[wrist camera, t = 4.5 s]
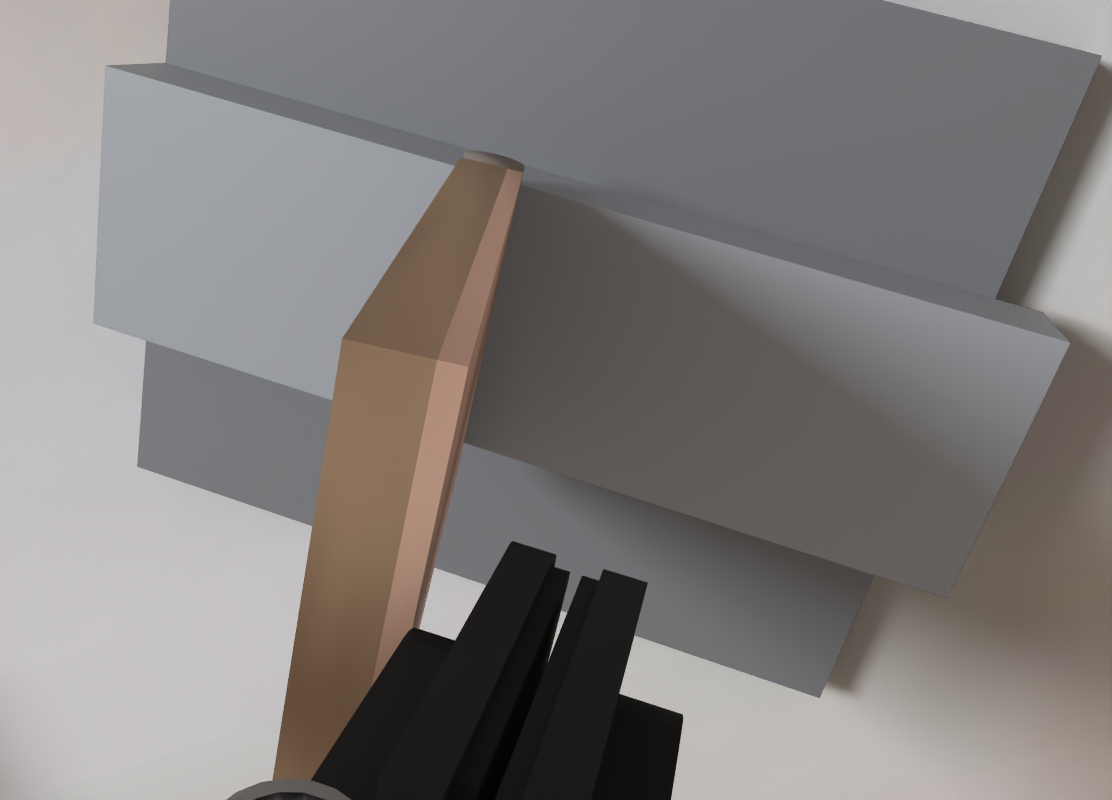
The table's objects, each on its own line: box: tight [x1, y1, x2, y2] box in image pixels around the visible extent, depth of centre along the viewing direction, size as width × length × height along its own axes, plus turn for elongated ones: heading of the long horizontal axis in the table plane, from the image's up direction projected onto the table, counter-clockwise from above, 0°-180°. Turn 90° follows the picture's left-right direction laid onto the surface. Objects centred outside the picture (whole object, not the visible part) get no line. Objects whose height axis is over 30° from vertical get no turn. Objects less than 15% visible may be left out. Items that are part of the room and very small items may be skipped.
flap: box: [273, 151, 525, 780], centre depth 16 cm, size 7×11×1 cm
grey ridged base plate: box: [94, 0, 1102, 698], centre depth 22 cm, size 16×20×3 cm
